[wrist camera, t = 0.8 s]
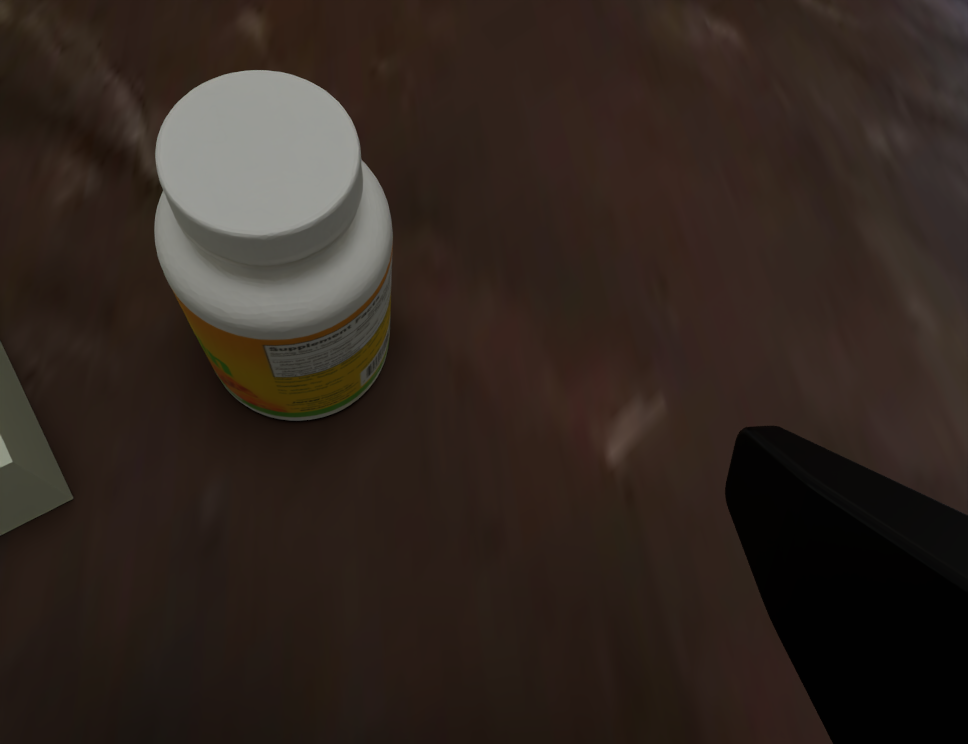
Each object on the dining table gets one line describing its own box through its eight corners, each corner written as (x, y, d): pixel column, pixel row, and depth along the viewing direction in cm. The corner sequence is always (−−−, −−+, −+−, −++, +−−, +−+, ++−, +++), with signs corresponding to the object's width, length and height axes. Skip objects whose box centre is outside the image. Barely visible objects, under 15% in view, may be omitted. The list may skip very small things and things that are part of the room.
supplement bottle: (188, 296, 25) (81, 76, 16) (352, 244, 26) (340, 15, 17) (243, 451, 23) (159, 306, 14) (415, 388, 25) (437, 219, 16)
